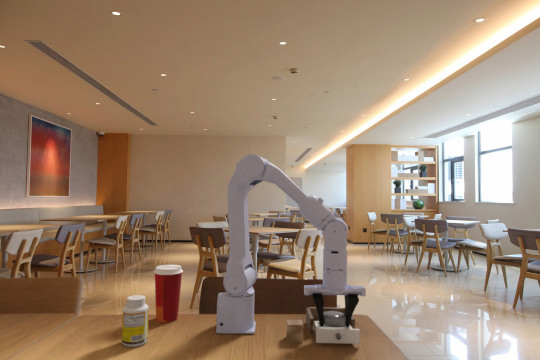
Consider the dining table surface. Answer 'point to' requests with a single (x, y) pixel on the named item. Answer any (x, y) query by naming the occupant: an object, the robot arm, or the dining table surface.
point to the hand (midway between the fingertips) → (334, 325)
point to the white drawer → (336, 334)
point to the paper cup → (167, 292)
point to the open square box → (313, 316)
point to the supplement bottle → (135, 321)
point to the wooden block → (295, 331)
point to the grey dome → (334, 319)
